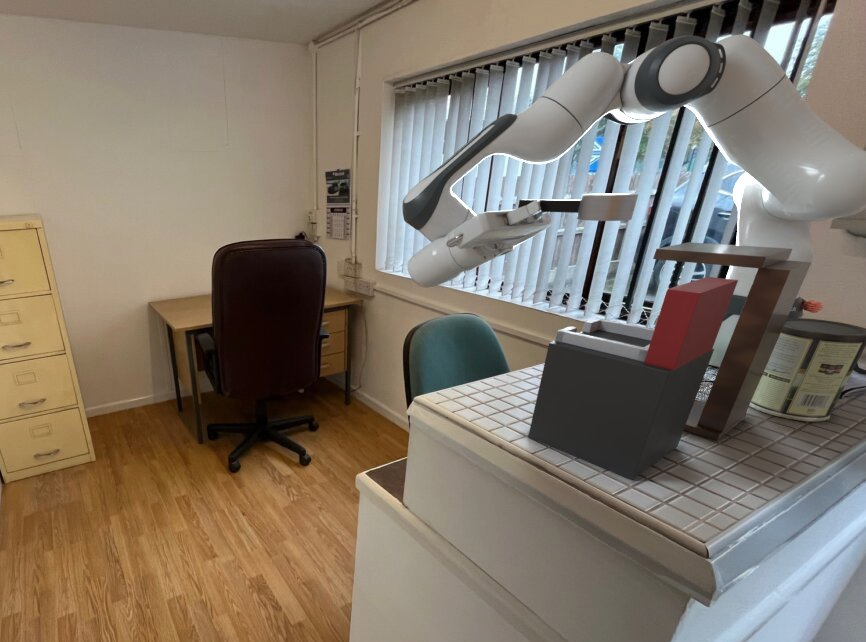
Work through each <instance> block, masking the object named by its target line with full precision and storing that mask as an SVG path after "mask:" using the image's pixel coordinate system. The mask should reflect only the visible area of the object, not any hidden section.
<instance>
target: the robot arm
mask: <svg viewBox="0 0 866 642" xmlns="http://www.w3.org/2000/svg"><path fill="white" fill-rule="evenodd" d="M682 107H686V108H687V109H689V110H690V111H692V112H693V114H695V116H696V117H697V120H698V121H699V123H700V125H702V127H703V128H704V130H705V132H707V134H708V135H709V137H710V138H711V139H712V141H713V142H714V144H715V146H716V147H717V148H718V150H719V151H720V152H721V154H722V156H724V158H725V159H726V160H727V161H728V162H729V163H731V164H733V165H734V166H737V167H738V168H739V169H741V170H743V171H744V173H743V174H741V176H740V177H739V178H738V180H737V181H736V183H735V185H734V187H733V191H732V198H733V202H734V204H735V205H736V208H737V228H736V231H737V232H736V241H735V245H740V246H756V247H772V248H789V249H792V251H791V254H790V256H789V259H788V261H801V262H811V265H810V267H809V269H808V272H807V274H806V276H805V278H804V281H803V283H802V285H801V288H800V290H799V292H798V294H797V297H796V299H795V301H794V304H793V306H792V308H791V311H790V313H789V315H788V317H787V318H804V311H806V312H809V313H812V314H816V313H819V311H822V309H823V308H824V305H823V303H822V302H820V301H819V302H818V301H815V300H813V299H812V300H806V299H804V298H802V297H800V296H801V294H802V291H803V289H804V287H805V284H806V282H807V280H808V277H809V275H810V273H811V270H812V269H813V267H814V264H815V261H816V260H817V259H816V258H817V251H816V249H815V247H814V245H813V243H812V238H811V229H812V228H811V227H812V222H824V221H829V220H831V221H832V220H835V219H841V218H846V217H850V216H854V215H856V214H859V213H861V212H863V211H865V210H866V150H864V149H862V148H861V147H859V146H857V145H855V143H853V142H852V141H850V140H848V138H847V137H845V136H844V135H842V133H840V132H839V131H837V130H836V129H835V128H833V127H832V126H831V125H830V124H828V123H827V122H826V121H824V120H823V119H822V117H820V116H819V115H817V114H816V113H815V112H814V110H812V108H810V107H809V105H808V104H807V102H806V101H805V100H804V98H803V96H802V95H801V94H800V93H799V91H798V89H797V88H796V87H795V85H794V84H793V82H792V81H791V79H790V78H789V76H788V75H787V74H786V72H785V70H784V69H783V68H782V66H781V64H780V63H778V61H777V60H776V59H775V58H774V56H772V55H771V53H770V52H769V51H768V50H767V49H765V47H763V46H762V45H761V44H760V43H758V42H757V40H755V39H753V38H752V37H751V36H749V35H747V34H734V35H730V36H727V37H724V38H723V39H720V40H718V41H716V42H714V41H710V40H709V39H707V38H704V37H701V36H698V35H681V36H677V37H673V38H670V39H668V40H665V41H663V42H662V43H660V44H659V45H657V46H655V47H653V48H650V49H649V50H647V51H645V52H643V53H642V54H640V55H638V56H637V57H636V58H635V59H633V60H632V61H630V62H627V63H624V62H621V61H619V59H617V57H615V56H614V55H613V54H610V53H607V52H604V51H593V52H590V53H587V54H586V55H584V56H583V57H581V58H580V59H578V61H576V62H575V63H574V64H573V65H571V66H570V67H569V68H568V69H566V71H565V72H563V73H562V74H561V75H560V76H559V77H558V78H557V79H556V80H555V81H554V82H553V83H551V85H550V86H549V87H547V89H545V91H544V92H543V93H542V94H541V95H540V96H539V97H538V99H536V101H534V103H533V104H531V105H530V106H529V107H527V108H526V109H524V110H523V111H520V112H519V113H516V114H513V113H506V114H503V115H501V116H500V117H498V118H496V119H494V120H493V121H492V122H491V123H489V124H488V125H486V126H485V127H484V128H483V129H482V130H480V132H478V133H477V134H476V135H474V137H472V138H471V139H470V140H469V141H467V142H466V143H465V144H464V145H463V146H462V147H461V148H459V149H458V150H457V151H456V152H455V153H453V154H452V155H451V156H450V157H449V158H448V159H447V160H445V161H444V162H443V163H442V164H441V165H440V166H438V167H437V168H436V169H435V170H434V171H432V172H431V173H430V174H428V175H427V176H425V177H424V178H423V179H422V180H420V181H419V182H418V183H416V184H415V185H414V186H412V188H411V189H409V191H408V192H407V193H406V195H405V196H404V198H403V200H402V205H401V209H402V217H403V221H404V222H405V223H406V224H408V225H409V226H411V228H413V229H415V230H416V231H418V232H419V233H420V234H422V235H423V236H424V237H425V238H426V240H428V241H429V242H430V243H428V244H426V245H425V246H424V247H422V248H421V249H420V250H419V251H417V252H416V253H415V254H414V255H412V256H411V257H410V258H409V260H408V261H407V263H406V265H407V266H406V267H407V272H408V274H409V276H410V278H411V279H412V280H413V281H414V283H416V285H418V286H420V287H421V288H425V289H428V288H434V287H437V286H439V285H442V284H445V283H447V282H449V281H452V280H454V279H456V278H458V276H460V275H461V274H462V273H464V272H469V271H472V270H474V269H476V268H478V267H480V266H483V265H485V264H487V263H489V262H491V261H493V260H495V259H496V258H498V257H502V256H505V255H507V254H509V253H511V252H513V251H514V249H515V247H516V246H519V245H521V244H522V243H525V242H526V241H528V240H531V239H532V238H534V237H536V236H537V235H538V234H541V233H542V232H544V231H546V230H547V229H548V228H549V227H550V226H551V225H552V219H551V216H550V212H541V211H543V209H544V206H543V205H542V201H533V202H531V203H530V204H528V205H526V206H523V207H520V208H518V207H517V208H515V209H508V210H494V211H483V212H481V213H478V214H476V213H475V212H474V211H473V210H472V209H471V208H470V206H468V205H466V204H465V203H464V202H463V201H462V200H461V198H459V197H458V196H457V195H456V194H455V193H454V192H453V191H452V189H453V186H454V185H455V184H456V183H457V182H459V181H460V180H462V178H463V177H465V176H466V175H467V174H468V173H470V172H471V171H472V170H473V169H474V168H475V167H477V166H479V164H480V163H482V161H484V160H485V159H486V158H488V157H491V156H494V155H502V156H503V155H504V156H507V157H510V158H512V159H515V160H518V161H521V162H525V163H527V164H533V165H534V164H535V165H542V164H548V163H552V162H553V161H556V160H558V159H560V158H561V157H562V156H564V155H565V154H566V153H567V152H568V151H569V150H571V148H572V147H574V146H575V145H576V144H577V143H578V141H580V139H582V137H584V135H585V134H587V132H588V131H589V130H590V129H591V128H592V127H593V126H594V125H595V123H597V122H599V121H600V120H601V119H602V118H604V119H606V120H609V121H610V122H612V123H615V124H618V125H624V126H631V125H632V126H633V125H636V124H639V123H644V122H648V121H651V120H654V119H657V118H660V117H662V116H664V115H665V114H667V113H669V112H672V111H674V110H677V109H680V108H682ZM757 271H758V268H748V267H737V266H729V268H728V271H727V274H726V277H725V279H733V280H738V282H737V285H736V287H735V290H734V293H733V295H732V298H731V301H730V303H729V306H728V309H727V311H726V314H725V317H724V319H723V322H722V324H721V327H720V330H719V332H718V335H717V338H716V340H715V343H714V346H713V348H712V349H714V351H713V354H712V357H711V359H710V362H709V365H708V366H713V367H717V368H719V367H720V365H721V362H722V360H723V357H724V355H725V352H726V350H727V347H728V344H729V342H730V339H731V337H732V334H733V332H734V329H735V327H736V324H737V322H738V319H739V316H740V314H741V311H742V309H743V306H744V304H745V301H746V299H747V296H748V293H749V291H750V288H751V286H752V283H753V281H754V278H755V276H756V273H757ZM853 372H856V373H857V374H861V375H866V369H864V368H862V367H859V362H857V364H856V366H855V368H854V369H853Z"/></svg>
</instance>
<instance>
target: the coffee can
mask: <svg viewBox="0 0 866 642" xmlns="http://www.w3.org/2000/svg"><path fill="white" fill-rule="evenodd" d="M865 348H866V328H865V327H862V326H859V325H854V324H850V323H845V322H840V321H834V320H825V319H815V318H804V317H803V318H787V320H786V322H785V324H784V327H783V329H782V331H781V333H780V336H779V338H778V340H777V343H776V345H775V347H774V350H773V352H772V354H771V356H770V359H769V361H768V363H767V366H766V368H765V370H764V372H763V375H762V377H761V379H760V382H759V384H758V386H757V388H756V391H755V393H754V395H753V398H752V400H751V402H750V405H749V407H750V408H752V409H754V410H756V411H759V412H761V413H764V414H768V415H772V416H775V417H779V418H783V419H787V420H793V421H800V422H812V423H813V422H825V421H828V420H829V419H830V418H831V414H832V412H833V410H834V408H835V407H836V405H837V402H838V401H839V399H840V397H841V395H842V393H843V391H844V390H845V387H846V385H847V383H848V381H849V379H850V377H851V375H852V374H853V372H854V370H853V369H854V368H855V366H856V364H857V363H859V361H860V358H861V356H862V354H863V353H864V350H865Z"/></svg>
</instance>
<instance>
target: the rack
mask: <svg viewBox="0 0 866 642" xmlns="http://www.w3.org/2000/svg"><path fill="white" fill-rule="evenodd" d="M791 251H792V249H789V248H772V247H756V246H740V245H736V244H721V243H704V242H702V243H701V242H684V243H683V242H682V243H679V244H674V245H668V246H663V247H659V248H655V251H654V255H653V258H652V259H653V260H659V261H660V260H661V261H670V262H671V261H672V262H681V263H693V264H703V265H704V264H705V265H715V266H726V267H727V266H728V267H730V266H737V267H748V268H758V271H757V273H756V276H755V278H754V281H753V283H752V286H751V288H750V291H749V293H748V296H747V299H746V301H745V304H744V306H743V309H742V311H741V314H740V316H739V319H738V322H737V324H736V327H735V329H734V332H733V334H732V337H731V339H730V342H729V344H728V347H727V350H726V352H725V355H724V357H723V360H722V362H721V365H720V367H718V369H717V372H716V375H715V378H714V380H713V383H712V384H711V385H712V386H711V388H710V389H709V393H708V395H707V398H706V400H705V401H702V400H700V399H697V398H696V399H695V401H694V404H693V407H692V409H691V412H690V415H689V417H688V420H687V422H686V425H685V428H684V430H683V431H686V432H688V433H692V434H696V435H698V436H702V437H704V438H707V439H711V440H713V441H718V440H720V439H721V438H723V437H724V436H725V435H726V434H728V432H730V431H731V430H733V428H736V426H738V425H739V424H741V422H742V421H744V420H745V419H746V416H747V415H748V413H747V411H748V409H749V407H750V406H749V405H750V402H751V400H752V398H753V395H754V393H755V391H756V388H757V386H758V384H759V382H760V379H761V377H762V375H763V372H764V370H765V368H766V366H767V363H768V361H769V359H770V356H771V354H772V352H773V350H774V347H775V345H776V343H777V340H778V338H779V336H780V333H781V331H782V329H783V327H784V324H785V322H786V320H787V317H788V315H789V313H790V311H791V308H792V306H793V304H794V301H795V299H796V297H797V294H798V292H799V290H800V288H801V285H802V283H803V281H804V278H805V276H806V274H807V272H808V269H809V267H810V265H811V262H801V261H788V259H789V256H790V254H791Z"/></svg>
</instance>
